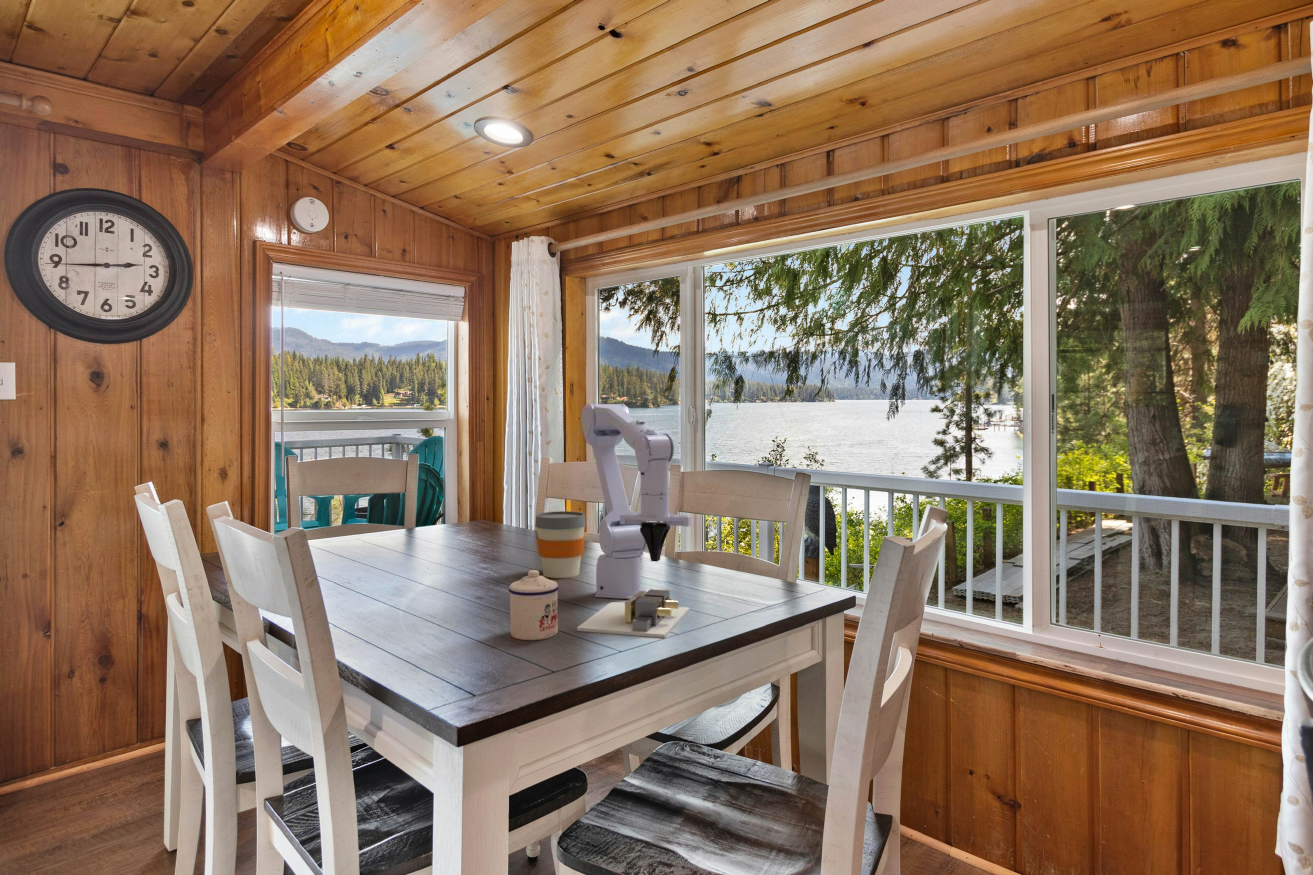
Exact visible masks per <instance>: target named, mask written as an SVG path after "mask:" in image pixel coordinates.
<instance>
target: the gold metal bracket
mask: <svg viewBox="0 0 1313 875" xmlns="http://www.w3.org/2000/svg"><path fill="white" fill-rule="evenodd" d="M646 592H647V590H646V591H639V592H637V593H636V594H635V595H634V596H632V597H631V598H630V599H626V601H625V602H624V603H625V622H632V621H633V620H634V619H635V602H636V601H637V600H638V599H639V598H640V597H642V596H644V594H645V593H646ZM679 604H680V602H679V601H678V600H671V601H670V600H665V608H657V616H669V617H670V616H671V608H672V609H678V607H680V605H679Z"/></svg>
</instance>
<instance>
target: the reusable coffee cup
mask: <svg viewBox="0 0 1313 875" xmlns="http://www.w3.org/2000/svg"><path fill="white" fill-rule="evenodd" d="M586 526H587V522H586V514H585V513H584V512H581V511H569V510H567V511H565V510H564V511H563V510H561V511H559V510H558V511H546V512H541V513H537V514H536V516H535V525H534V527H535V528H536V533H537V537H536V544H537V550H538V551H537V553H538V556H539V557H540V561H541V567H542V576H543V577H545V576H546V577H545V578H549V577H550V579H566V578H573V577H577V576H579V574H580V572H581V571H580V570H581V569H580V568H581V560H582V555H584V549H585V548H584V547H585V540H586V539H585V538H586V536H585V535H584V534H585V527H586Z"/></svg>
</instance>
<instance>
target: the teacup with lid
mask: <svg viewBox="0 0 1313 875" xmlns="http://www.w3.org/2000/svg"><path fill="white" fill-rule="evenodd" d="M527 574H528V575H527V576H523V577H522V578H521V579H519V580H517V581H514V582H512V583H511V584H510V585H509V587H508V592H509V611H510V612H509V617H510V622H509V623H510V629H509V630H510V635H511V637H513V638H514V639H516V640H522V641H539V640H540V641H541V640H545V639H550V638H553V637H554V636H556V635H557V633H558V632H559V620H558V618H559V617H558V616H559V613H558V611H559V608H558V606H559V604H558V600H559V598H558V594H559V593H558V590H560V589H559V588H560V587H559V583H557V581H555V580H552V579H548V577H545V576H544V575H540V572H539V570H536V569H531V570H529V571H528V573H527Z"/></svg>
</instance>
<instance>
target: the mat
mask: <svg viewBox="0 0 1313 875" xmlns="http://www.w3.org/2000/svg"><path fill="white" fill-rule="evenodd" d="M689 612H690V607H685V606H679V607H678V609H672V608H671V616H670V617H669V616H666V617H665V618H662V621H661V622H660V623H659V624H658V625H657V626H652V627H651V628H650V629H649V630H648V631H647V632H645V631H633V621H632V622H625V602H613V601H612V602H611V601H610V602H609V603H608V604H607V605H605V606H604V607H602V608H601V609H600V610H599V611H597V612H596V613H594V614H593V615H592V616H590V617H589V618H588V619H587V620H585V621H584V622H583V623H581V624H580V625H579V626H577V627H576V632H587V633H588V632H589V633H599V634H600V633H601V634H612V635H623V636H625V635H626V636H637V637H649V638H659V639H660V638H661V639H663V638H664V639H666V638H667V636H668V635H669V634H670V633H671V632H672V631H673V630H674V629H675V627H676V626H677V625H678V624H679V623H680V622H681V621H682V620H683V618H685V616H686V615H687V614H688V613H689Z"/></svg>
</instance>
